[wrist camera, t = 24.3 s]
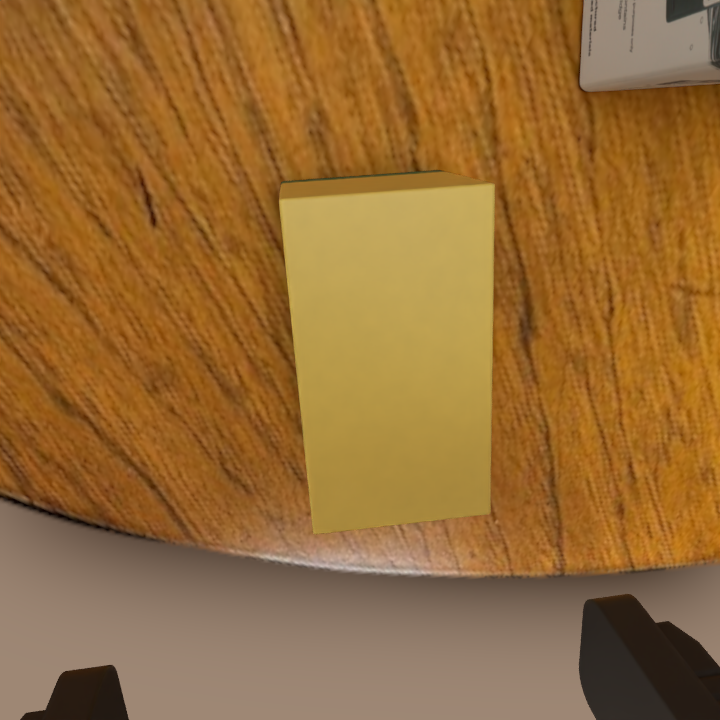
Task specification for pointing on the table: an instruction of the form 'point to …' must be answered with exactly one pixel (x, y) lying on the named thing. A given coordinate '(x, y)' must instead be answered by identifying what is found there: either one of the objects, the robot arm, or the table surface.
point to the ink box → (649, 44)
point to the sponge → (392, 344)
